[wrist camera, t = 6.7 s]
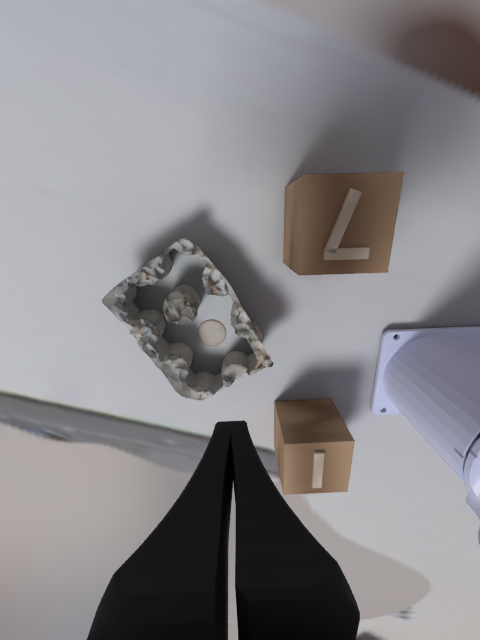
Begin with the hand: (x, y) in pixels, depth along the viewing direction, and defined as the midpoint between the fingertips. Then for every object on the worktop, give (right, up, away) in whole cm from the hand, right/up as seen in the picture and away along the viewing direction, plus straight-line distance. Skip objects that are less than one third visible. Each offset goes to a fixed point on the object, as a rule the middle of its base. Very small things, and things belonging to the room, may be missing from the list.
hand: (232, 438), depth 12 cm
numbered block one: (+6, -4, +12) cm, 14 cm away
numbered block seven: (+6, +12, +6) cm, 15 cm away
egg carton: (-3, +6, +9) cm, 11 cm away
